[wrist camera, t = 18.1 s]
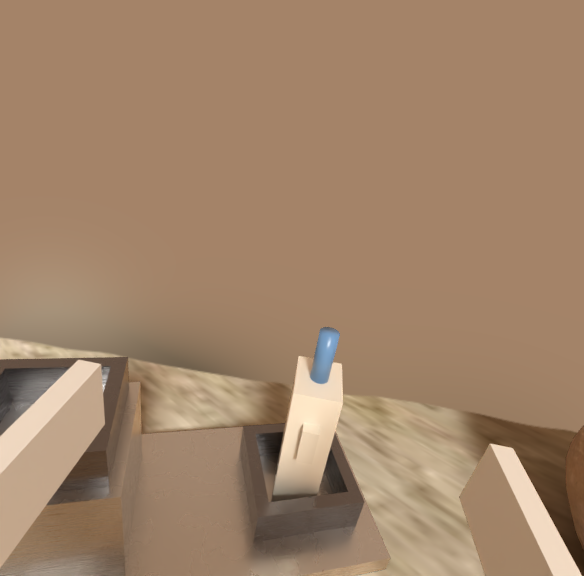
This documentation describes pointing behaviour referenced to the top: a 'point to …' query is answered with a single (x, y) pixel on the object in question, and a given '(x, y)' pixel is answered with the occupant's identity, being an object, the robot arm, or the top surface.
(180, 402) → the top surface
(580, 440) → the ceramic bowl
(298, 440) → the plug
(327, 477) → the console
